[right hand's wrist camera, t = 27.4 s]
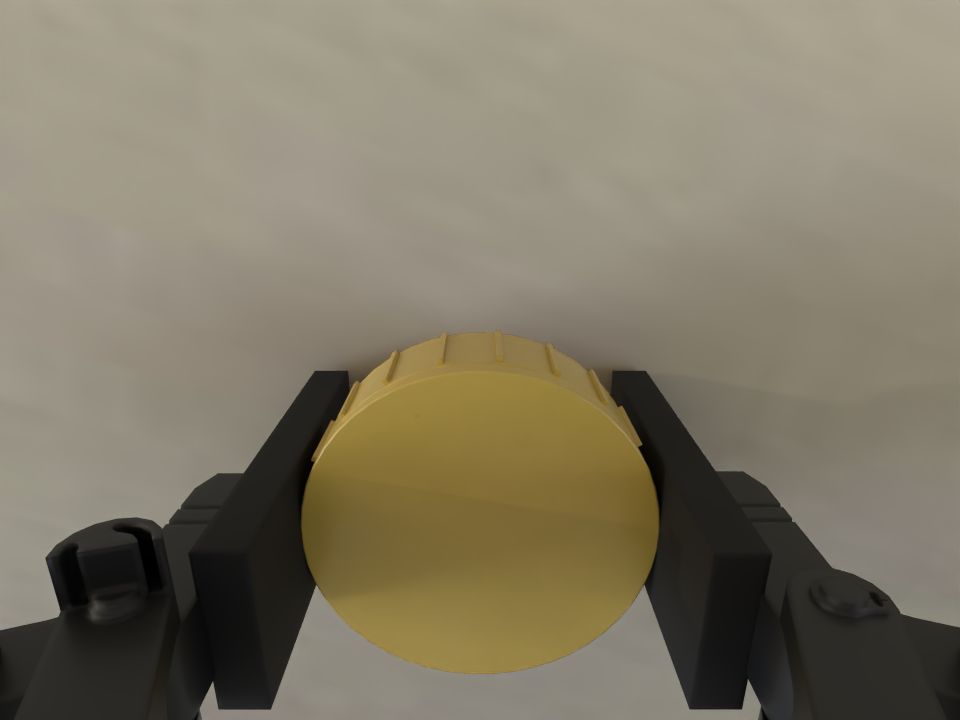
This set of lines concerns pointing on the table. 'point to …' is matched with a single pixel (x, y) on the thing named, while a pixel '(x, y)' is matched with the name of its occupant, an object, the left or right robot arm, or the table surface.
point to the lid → (480, 506)
